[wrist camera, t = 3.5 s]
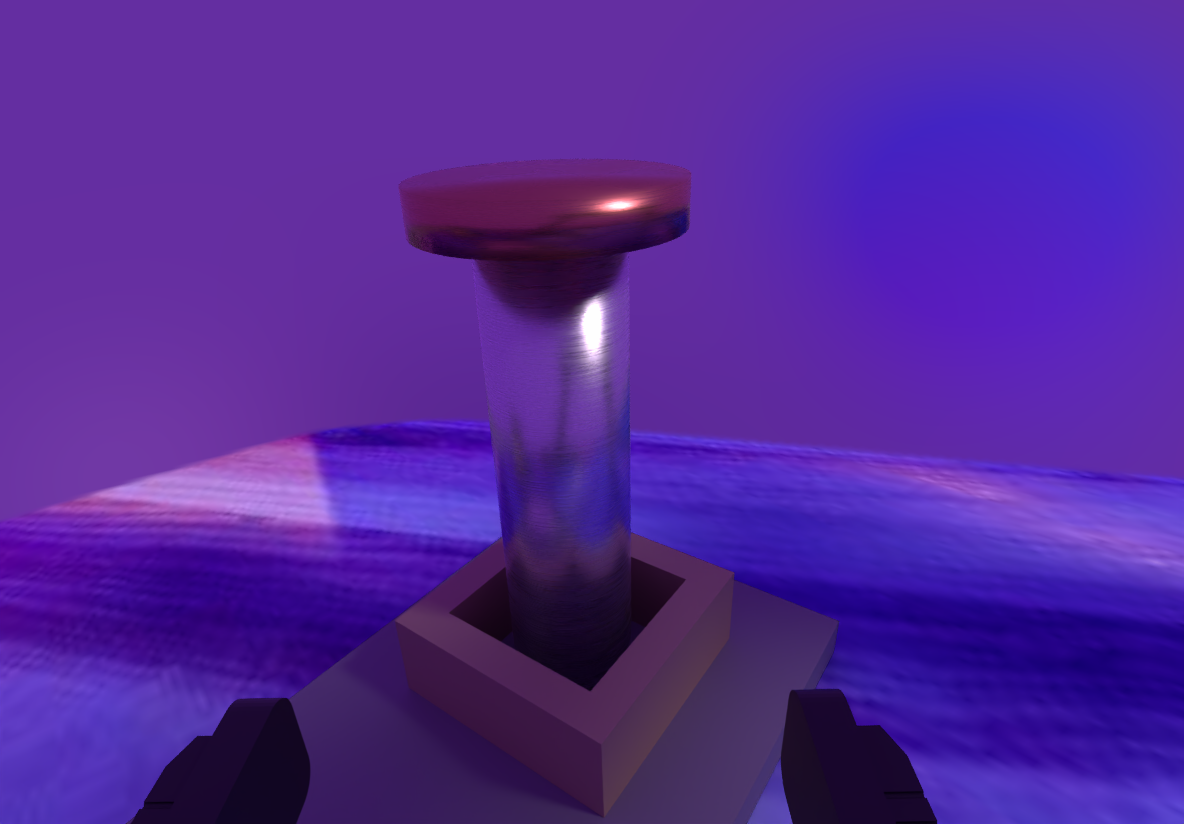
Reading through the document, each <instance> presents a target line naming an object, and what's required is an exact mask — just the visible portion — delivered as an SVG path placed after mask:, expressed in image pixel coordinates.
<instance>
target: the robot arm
mask: <svg viewBox="0 0 1184 824" xmlns="http://www.w3.org/2000/svg"><path fill="white" fill-rule="evenodd" d="M781 770H782V779H783V786H784V791H785V795H786V799H787V803H788V807H789V811H790V815H791V818H792V822H793V824H937V820H936V818H935V815H934V813H933V811H932V809H931V807H930V804H929V802H928V800H927V798H925V797H924V794H923V789H922V787H921V785H920V782H919V780H918V778H917V776H916V774H915V771H914V769H913V767H912V765H911V763H910V760H909V758H908V756H907V755H906V754H905V753H904V751H903V750H902V749H901V748H900V747H899V746H898V745H897V744H896V743H895V742H894V740H893V739H892V738H891V737H890V736H889V735H888V734H887V733H886V732H885V731H884V729H883V728H882V727H881V726H880V725H872V726H857V725H856V722H855V720H854V717H853V715H852V712H851V710H850V707H849V705H848V702H847V700H846V698H845V696H844V694H843V693H842V691H841V690H839V689H804V690H791V691H790V694H789V699H788V706H787V713H786V720H785V728H784V735H783V742H782V749H781ZM310 771H311V769H310V759H309V755H308V752H307V749H306V746H305V743H304V740H303V737H302V734H301V731H300V728H299V725H298V722H297V719H296V716H295V713H294V710H293V707H292V704H291V702H290V701H289V700H288V699H287V698H253V699H238V700H236V701H234V702H233V703H232V704H231V705H230V707H229V708H228V710H227V711H226V713H225V714H224V716H223V718H222V720H221V721H220V723H219V725H218V727H217V728H216V730H215V732H214V734H213V735H212V736H197V737H196V738H195V739H194V740H193V741H192V742H191V743H190V744H189V745H188V746H187V747H186V748H185V749H184V750H183V751H181V752H180V753H179V754H178V755H177V756H176V757H175V758H174V759H173V760H172V761H171V762H170V763H169V764H168V765H167V766H166V767H165V769H164V770H163V772H162V773H161V775H160V777H159V778H158V780H157V782H156V783H155V785H154V786H153V788H152V790H151V791H150V793H149V795H148V796H147V798H146V799H145V801H144V807H143V809H139V811H138V812H137V814H136V816H135V817H134V819H133V821H132V822H131V824H296V823H297V821H298V818H299V816H300V813H301V811H302V808H303V806H304V803H305V800H306V797H307V793H308V789H309V783H310Z"/></svg>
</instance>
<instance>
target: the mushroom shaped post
mask: <svg viewBox="0 0 1184 824" xmlns="http://www.w3.org/2000/svg"><path fill="white" fill-rule="evenodd" d="M690 191H691V173H690V171H689V170H687V169H685V168H682V167H679V166H675V165H670V164H664V163H656V162H647V161H635V160H613V159H560V160H533V161H516V162H502V163H491V164H481V165H472V166H465V167H457V168H451V169H444V170H439V171H433V172H429V173H424V174H421V175H417V176H413V177H411V178H408V179H406V180H404V181H402V182H401V183H400V184H399V193H400V199H401V206H402V213H403V219H404V226H405V232H406V239H407V241H408V242H409V243H410V244H411V245H412V246H414V247H416V248H418V249H420V250H423V251H426V252H430V253H433V254H438V255H443V256H449V257H456V258H464V259H472V267H473V276H474V285H475V294H476V303H477V312H478V321H479V330H480V339H481V348H482V357H483V366H484V375H485V385H486V393H487V403H488V412H489V421H490V430H491V439H492V448H493V457H494V466H495V475H496V484H497V494H498V503H499V512H500V521H501V530H502V539H503V548H504V557H505V566H506V575H507V584H508V593H509V602H510V612H511V621H512V630H513V639H514V648H515V650H516V651H518V652H520V653H522V654H524V655H525V656H527V657H529V658H531V659H533V660H534V661H536V662H538V663H540V664H542V665H543V666H545V667H547V668H549V669H551V670H552V671H554V672H556V673H558V674H560V675H561V676H563V677H565V678H567V679H569V680H570V681H572V682H574V683H576V684H578V685H579V686H581V687H583V688H585V689H587V690H588V691H591V690H592V689H593V688H594V687H595V686H596V684H597V683H598V682H599V681H600V680H601V679H602V677H603V676H604V675H605V674H606V673H607V672H608V670H609V669H610V668H611V667H612V666H613V665H614V663H615V662H616V661H617V660H618V659H619V658H620V656H621V655H622V654H623V653H624V652H625V651H626V649H627V648H628V647H629V646H630V645H631V509H630V372H629V371H630V361H629V360H630V358H629V252H631V251H636V250H640V249H645V248H649V247H653V246H656V245H660V244H663V243H666V242H668V241H671V240H674V239H676V238H678V237H680V236H681V235H683V234H684V233H686V231H687V230H688V229H689V224H690V223H689V222H690V194H691V192H690Z"/></svg>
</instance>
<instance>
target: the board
mask: <svg viewBox="0 0 1184 824" xmlns="http://www.w3.org/2000/svg"><path fill="white" fill-rule="evenodd" d="M838 625H839V621H837V620H835V619H832V618H830V617H827V616H825V615H822V614H820V613H817V612H815V611H812V610H810V609H807V608H805V607H802V606H799V605H797V604H794V603H792V602H789V601H787V600H784V599H782V598H779V597H777V596H774V595H772V594H769V593H767V592H764V591H762V590H759V589H756V588H754V587H751V586H749V585H746V584H744V583H741V582H739V581H736V580H734V572H732V571H729V570H726V569H724V568H721V567H719V566H716V565H714V564H711V563H708V562H706V561H703V560H701V559H698V558H696V557H693V556H690V555H688V554H685V553H683V552H680V551H678V550H675V549H672V548H670V547H667V546H665V545H662V544H660V543H657V542H654V541H652V540H649V539H647V538H644V537H642V536H639V535H636V534H634V533H631V645H630V646H629V647H628V648H627V649H626V651H625V652H624V653H623V654H622V655H621V656H620V658H619V659H618V660H617V661H616V662H615V663H614V665H613V666H612V667H611V668H610V669H609V670H608V672H607V673H606V674H605V675H604V676H603V677H602V679H601V680H600V681H599V682H598V683H597V684H596V686H595V687H594V688H593V689H592V690H591V691H588V690H587V689H585V688H583V687H581V686H579V685H578V684H576V683H574V682H572V681H570V680H569V679H567V678H565V677H563V676H561V675H560V674H558V673H556V672H554V671H552V670H551V669H549V668H547V667H545V666H543V665H542V664H540V663H538V662H536V661H534V660H533V659H531V658H529V657H527V656H525V655H524V654H522V653H520V652H518V651H516V650H515V648H514V639H513V630H512V621H511V612H510V602H509V593H508V584H507V575H506V566H505V557H504V548H503V539H502V537H501V538H500V539H498V540H497V541H496V542H494V543H493V544H492V545H491V546H489V547H488V548H487V549H485V550H484V551H483V552H481V553H480V554H479V555H477V556H476V557H475V558H474V559H472V560H471V561H470V562H468V563H467V564H466V565H464V566H463V567H462V568H460V569H459V570H458V571H456V572H455V573H454V574H453V575H451V576H450V577H449V578H447V579H446V580H445V581H443V582H442V583H441V584H439V585H438V586H437V587H435V588H434V589H433V590H432V591H430V592H429V593H428V594H426V595H425V596H424V597H422V598H421V599H420V600H418V601H417V602H416V603H414V604H413V605H412V606H411V607H409V608H408V609H407V610H405V611H404V612H403V613H401V614H400V615H399V616H397V617H396V618H395V619H393V620H392V621H391V622H390V623H388V624H387V625H386V626H384V627H383V628H382V629H380V630H379V631H378V632H376V633H375V634H374V635H372V636H371V637H370V638H369V639H367V640H366V641H365V642H363V643H362V644H361V645H359V646H358V647H357V648H355V649H354V650H353V651H351V652H350V653H349V654H348V655H346V656H345V657H344V658H342V659H341V660H340V661H338V662H337V663H336V664H334V665H333V666H332V667H330V668H329V669H328V670H327V671H325V672H324V673H323V674H321V675H320V676H319V677H317V678H316V679H315V680H313V681H312V682H311V683H309V684H308V685H307V686H306V687H304V688H303V689H302V690H300V691H299V692H298V693H296V694H295V695H294V696H292V697H291V698H290V699H288V700H289V701H290V702H291V704H292V707H293V710H294V713H295V716H296V719H297V722H298V725H299V728H300V731H301V734H302V737H303V740H304V743H305V746H306V749H307V752H308V755H309V759H310V769H311V771H310V783H309V789H308V793H307V797H306V800H305V803H304V806H303V808H302V811H301V813H300V816H299V818H298V821H297V823H296V824H747V822H748V820H749V818H750V816H751V814H752V812H753V810H754V808H755V806H756V804H757V802H758V800H759V798H760V796H761V794H762V792H763V790H764V788H765V786H766V784H767V782H768V780H769V778H770V776H771V774H772V772H773V771H774V769H775V767H776V765H777V763H778V761H779V759H780V757H781V749H782V742H783V735H784V728H785V720H786V713H787V706H788V699H789V694H790V691H791V690H804V689H815V688H816V686H817V684H818V682H819V680H820V678H821V676H822V674H823V672H824V670H825V668H826V666H827V664H828V662H829V660H830V658H831V656H832V654H833V652H834V648H835V643H836V637H837V631H838ZM133 819H134V818H132V819H131V820H130V821H128V822H127V823H126V824H131V822H132V821H133Z"/></svg>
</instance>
